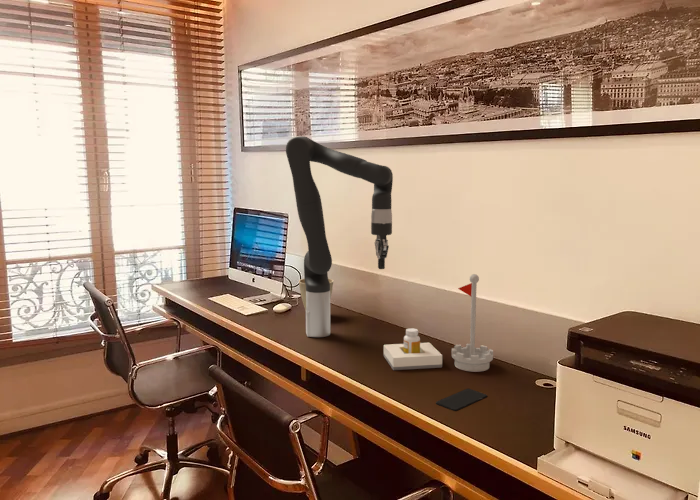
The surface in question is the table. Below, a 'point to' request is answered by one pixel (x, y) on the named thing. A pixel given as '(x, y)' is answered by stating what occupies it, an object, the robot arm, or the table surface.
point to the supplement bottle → (411, 341)
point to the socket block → (412, 357)
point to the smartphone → (461, 399)
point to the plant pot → (303, 290)
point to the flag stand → (472, 339)
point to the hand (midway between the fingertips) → (381, 268)
